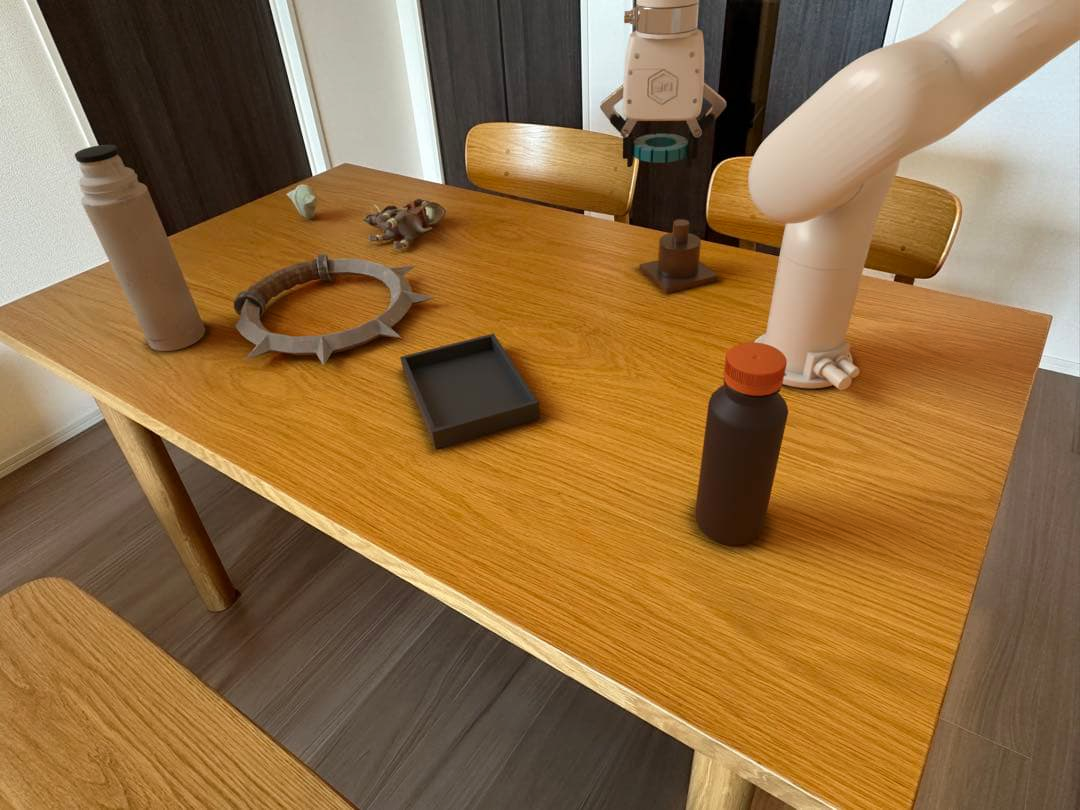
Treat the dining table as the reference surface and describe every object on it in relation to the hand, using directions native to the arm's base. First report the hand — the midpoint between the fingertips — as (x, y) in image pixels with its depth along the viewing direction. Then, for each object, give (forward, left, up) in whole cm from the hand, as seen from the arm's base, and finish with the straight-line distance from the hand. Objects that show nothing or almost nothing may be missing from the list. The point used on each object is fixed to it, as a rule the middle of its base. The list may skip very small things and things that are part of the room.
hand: (659, 163), depth 96 cm
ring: (0, 0, +2) cm, 2 cm away
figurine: (+40, +29, -20) cm, 54 cm away
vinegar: (-46, +16, -20) cm, 52 cm away
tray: (-14, +34, -20) cm, 42 cm away
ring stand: (+2, -6, -20) cm, 21 cm away
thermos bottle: (+19, +70, -20) cm, 76 cm away
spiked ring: (+14, +47, -20) cm, 53 cm away
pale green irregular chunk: (+56, +46, -20) cm, 76 cm away
